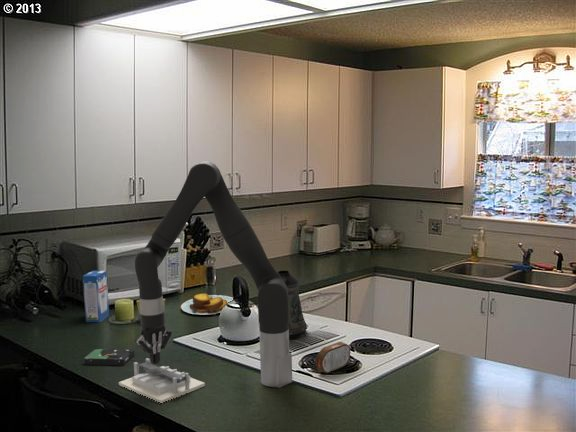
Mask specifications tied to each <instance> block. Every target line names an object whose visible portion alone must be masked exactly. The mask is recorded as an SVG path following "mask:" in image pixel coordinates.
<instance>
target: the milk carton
mask: <svg viewBox="0 0 576 432" xmlns="http://www.w3.org/2000/svg"><path fill="white" fill-rule="evenodd" d="M107 276H108V274H107V270H92V271H90V272H87V273H86V274H83V275H82V283H83V284H82V285H83V298H84V299H83V300H84V311H85V313H84V314H85V323H101V322H102V321H104V320H105V319H107V318H108V317H109V316H110V303H109V288H108V277H107Z"/></svg>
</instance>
